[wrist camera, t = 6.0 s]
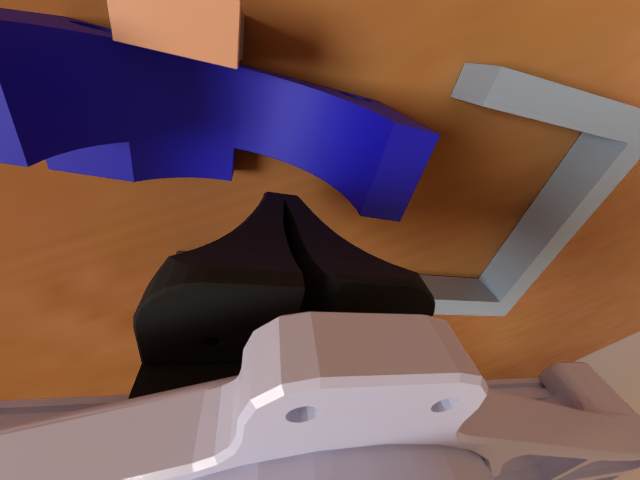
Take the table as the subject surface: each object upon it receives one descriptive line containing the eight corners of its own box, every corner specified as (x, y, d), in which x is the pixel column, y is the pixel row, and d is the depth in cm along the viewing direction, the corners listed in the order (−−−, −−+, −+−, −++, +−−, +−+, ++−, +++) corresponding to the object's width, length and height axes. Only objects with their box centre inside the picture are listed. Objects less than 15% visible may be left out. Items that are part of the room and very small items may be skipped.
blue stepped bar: (92, 144, 12) (-24, 210, 7) (67, 17, 10) (-131, -10, 5) (347, 188, 15) (384, 255, 10) (375, 100, 13) (440, 134, 8)
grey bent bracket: (483, 292, 22) (504, 316, 20) (369, 286, 20) (380, 312, 18) (621, 108, 15) (674, 118, 13) (465, 62, 12) (501, 66, 10)
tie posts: (232, 274, 17) (225, 321, 14) (176, 271, 16) (157, 320, 14) (247, 12, 10) (239, 0, 7) (151, -15, 9) (100, -41, 7)
